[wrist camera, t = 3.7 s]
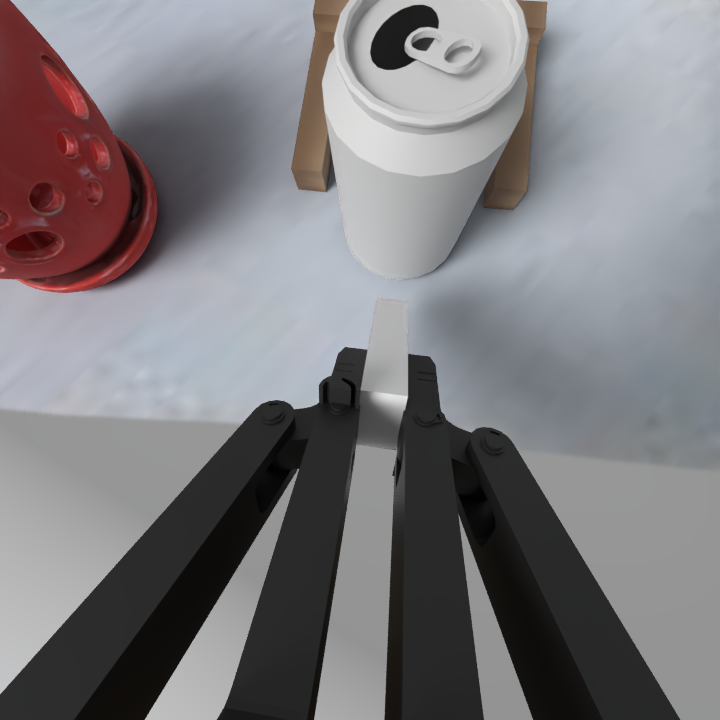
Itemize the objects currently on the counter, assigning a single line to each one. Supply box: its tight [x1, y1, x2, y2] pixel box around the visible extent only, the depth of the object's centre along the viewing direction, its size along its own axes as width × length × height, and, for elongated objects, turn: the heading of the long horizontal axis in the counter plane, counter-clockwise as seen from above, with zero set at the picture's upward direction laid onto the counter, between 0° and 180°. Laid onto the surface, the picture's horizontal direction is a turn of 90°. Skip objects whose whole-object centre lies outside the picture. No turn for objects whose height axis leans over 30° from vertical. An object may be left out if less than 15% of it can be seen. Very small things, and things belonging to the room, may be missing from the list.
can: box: [322, 0, 530, 280], centre depth 16 cm, size 8×8×12 cm
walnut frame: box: [291, 0, 547, 210], centre depth 21 cm, size 15×12×3 cm
